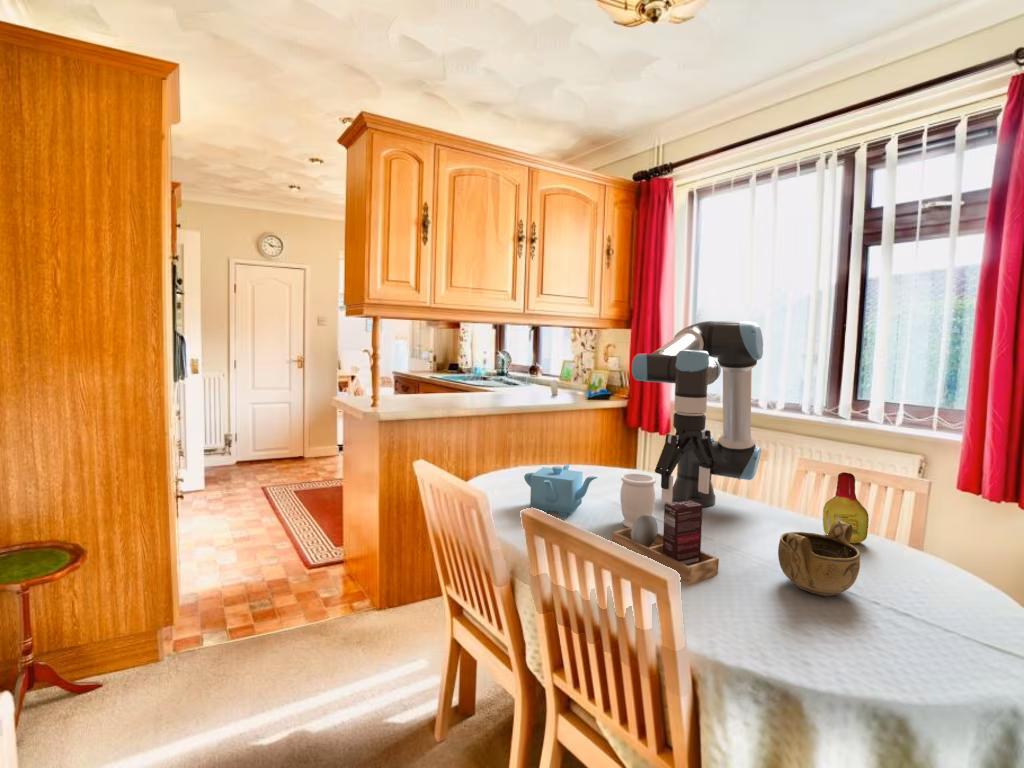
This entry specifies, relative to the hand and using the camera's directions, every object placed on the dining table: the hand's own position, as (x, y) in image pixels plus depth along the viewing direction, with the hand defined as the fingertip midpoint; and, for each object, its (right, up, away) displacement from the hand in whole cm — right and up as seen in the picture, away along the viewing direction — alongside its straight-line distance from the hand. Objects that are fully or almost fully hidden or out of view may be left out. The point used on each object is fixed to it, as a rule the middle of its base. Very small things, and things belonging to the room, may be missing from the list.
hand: (685, 496), depth 139 cm
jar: (-5, -15, +32) cm, 36 cm away
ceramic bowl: (+28, -20, -8) cm, 36 cm away
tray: (-4, -18, +7) cm, 19 cm away
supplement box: (-1, -18, +1) cm, 18 cm away
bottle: (+54, -18, +24) cm, 62 cm away
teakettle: (-28, -14, +44) cm, 54 cm away
